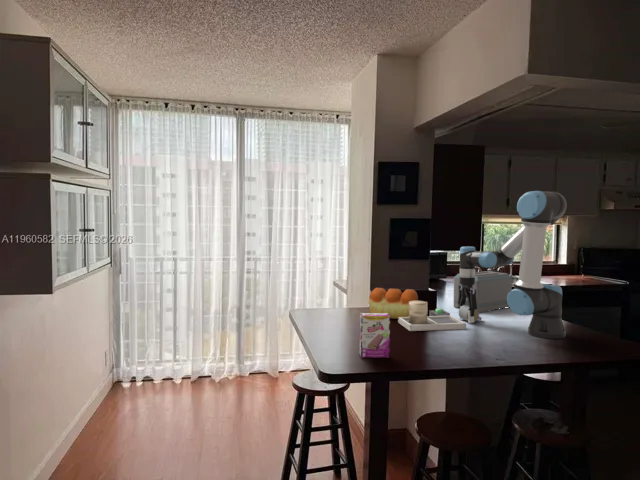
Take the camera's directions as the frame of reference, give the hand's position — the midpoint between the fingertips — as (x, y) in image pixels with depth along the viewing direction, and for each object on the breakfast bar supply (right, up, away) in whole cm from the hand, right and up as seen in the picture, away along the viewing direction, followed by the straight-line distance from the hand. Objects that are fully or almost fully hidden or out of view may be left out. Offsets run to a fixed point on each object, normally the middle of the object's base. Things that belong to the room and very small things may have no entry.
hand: (466, 320), depth 222 cm
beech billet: (-27, +1, -9) cm, 29 cm away
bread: (-35, 0, +14) cm, 38 cm away
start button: (-12, +1, +7) cm, 14 cm away
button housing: (-12, 0, +7) cm, 14 cm away
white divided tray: (-21, -1, -8) cm, 22 cm away
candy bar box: (-55, -4, -56) cm, 78 cm away
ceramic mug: (+2, 0, +1) cm, 3 cm away
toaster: (+20, +1, +34) cm, 40 cm away
